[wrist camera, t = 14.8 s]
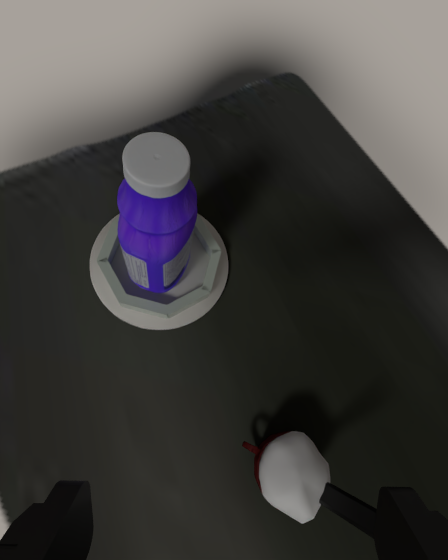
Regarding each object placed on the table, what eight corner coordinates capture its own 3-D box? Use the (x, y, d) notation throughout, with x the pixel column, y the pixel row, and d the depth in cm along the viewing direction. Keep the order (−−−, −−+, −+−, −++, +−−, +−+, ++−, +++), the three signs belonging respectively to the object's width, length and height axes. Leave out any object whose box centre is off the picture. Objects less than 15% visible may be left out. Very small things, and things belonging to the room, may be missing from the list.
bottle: (151, 228, 37) (140, 98, 21) (197, 248, 37) (221, 136, 21) (120, 282, 34) (78, 184, 18) (169, 304, 34) (172, 226, 18)
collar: (186, 187, 40) (188, 175, 38) (251, 288, 37) (257, 282, 35) (67, 237, 35) (60, 227, 33) (130, 357, 32) (128, 355, 30)
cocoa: (228, 448, 32) (251, 478, 20) (274, 405, 34) (319, 410, 22) (292, 536, 30) (357, 621, 19) (338, 485, 32) (421, 535, 20)
